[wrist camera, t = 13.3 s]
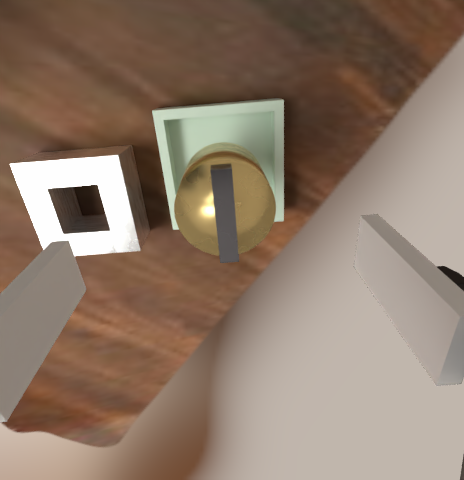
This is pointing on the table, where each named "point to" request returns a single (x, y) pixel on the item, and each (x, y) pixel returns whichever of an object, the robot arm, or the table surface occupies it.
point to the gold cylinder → (224, 201)
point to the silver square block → (66, 204)
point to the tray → (222, 139)
